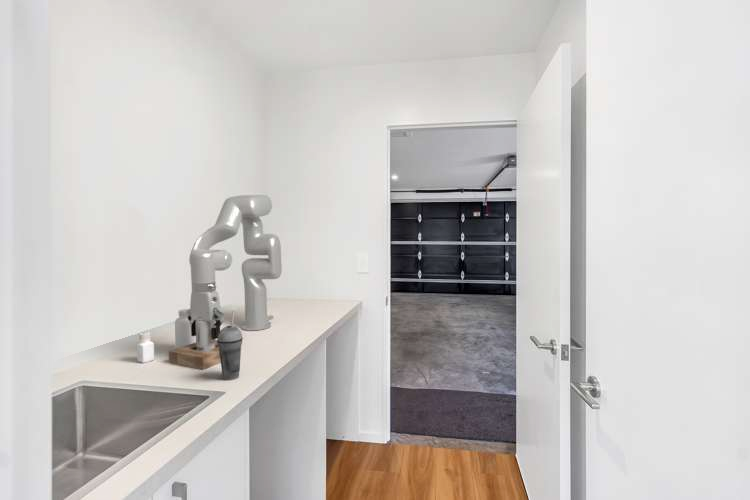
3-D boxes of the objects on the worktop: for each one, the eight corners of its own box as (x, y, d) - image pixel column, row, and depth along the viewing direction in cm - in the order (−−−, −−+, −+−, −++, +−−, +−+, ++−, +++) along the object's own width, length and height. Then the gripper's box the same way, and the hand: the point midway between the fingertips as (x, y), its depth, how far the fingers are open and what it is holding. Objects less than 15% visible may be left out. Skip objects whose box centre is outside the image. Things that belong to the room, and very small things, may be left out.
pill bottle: (190, 354, 136) (188, 312, 136) (170, 353, 138) (169, 312, 137) (204, 347, 144) (203, 308, 143) (185, 346, 146) (184, 307, 145)
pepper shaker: (155, 360, 130) (154, 332, 130) (143, 363, 127) (142, 335, 126) (148, 358, 132) (147, 331, 132) (136, 361, 129) (135, 334, 128)
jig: (208, 349, 142) (208, 338, 142) (240, 354, 135) (240, 343, 135) (169, 362, 128) (168, 351, 127) (203, 369, 121) (202, 357, 121)
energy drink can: (194, 358, 132) (192, 315, 131) (211, 354, 136) (210, 312, 135) (200, 362, 127) (199, 318, 127) (218, 358, 132) (217, 315, 131)
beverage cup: (217, 375, 116) (215, 310, 115) (243, 371, 119) (241, 308, 118) (218, 383, 110) (216, 315, 109) (244, 379, 112) (243, 312, 111)
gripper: (230, 287, 130) (232, 336, 131) (195, 284, 137) (197, 331, 139) (213, 291, 123) (215, 343, 124) (176, 287, 131) (179, 336, 132)
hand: (205, 336), depth 131 cm, fingers open, 9 cm apart
